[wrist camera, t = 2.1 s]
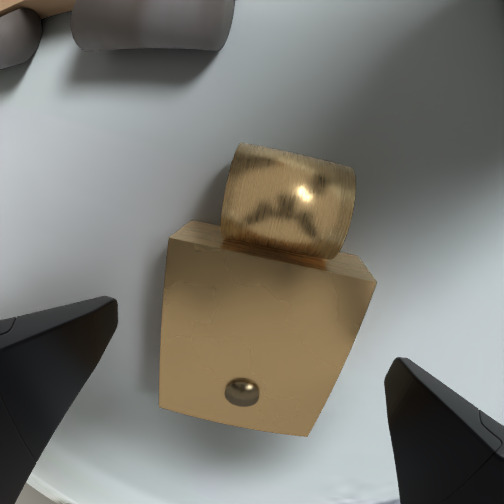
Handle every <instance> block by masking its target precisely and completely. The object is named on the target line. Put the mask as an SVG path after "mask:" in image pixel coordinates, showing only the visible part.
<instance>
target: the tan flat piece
mask: <svg viewBox="0 0 504 504" xmlns="http://www.w3.org/2000/svg"><path fill="white" fill-rule="evenodd" d="M234 6H235V0H0V69H3V68H6V67H10V66H14V65H18V64H21V63H24V62H25V61H27V60H28V59H29V58H30V57H31V56H32V55H33V54H34V53H35V51H36V49H37V47H38V45H39V42H40V39H41V33H42V27H41V21H40V19H42V18H46V17H49V16H53V15H56V14H60V13H64V12H68V11H72V15H71V31H72V35H73V38H74V40H75V42H76V44H77V45H78V46H79V47H80V48H81V49H82V50H84V51H87V52H93V51H104V50H117V49H138V48H179V49H200V50H213V51H219V50H220V49H221V48H222V47H223V46H224V44H225V42H226V40H227V37H228V35H229V31H230V28H231V24H232V19H233V14H234Z"/></svg>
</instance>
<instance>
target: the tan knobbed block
mask: <svg viewBox="0 0 504 504" xmlns="http://www.w3.org/2000/svg"><path fill="white" fill-rule="evenodd" d="M355 193H356V178H355V173H354V170H353V168H351V167H348V166H344V165H340V164H337V163H333V162H329V161H325V160H321V159H317V158H313V157H309V156H305V155H300V154H296V153H291V152H287V151H282V150H278V149H273V148H268V147H263V146H258V145H253V144H247V143H240V144H239V145H238V147H237V150H236V152H235V155H234V158H233V161H232V164H231V168H230V171H229V175H228V179H227V184H226V189H225V194H224V199H223V206H222V213H221V225H220V226H218V225H213V224H208V223H204V222H199V221H194V220H191V221H190V222H188V223H187V224H186V225H184V226H183V227H182V228H181V229H179V230H178V231H177V232H175V233H174V234H173V235H172V236H170V237H169V241H168V250H167V260H166V270H165V281H164V293H163V307H162V323H161V343H160V373H159V407H161V408H164V409H168V410H171V411H174V412H178V413H182V414H185V415H189V416H193V417H197V418H201V419H205V420H209V421H214V422H218V423H223V424H227V425H232V426H237V427H242V428H248V429H253V430H259V431H266V432H272V433H279V434H287V435H295V436H304V437H308V435H309V433H310V431H311V429H312V428H313V426H314V424H315V422H316V420H317V418H318V416H319V415H320V413H321V411H322V409H323V407H324V405H325V403H326V401H327V399H328V397H329V395H330V393H331V391H332V389H333V387H334V385H335V383H336V381H337V379H338V376H339V374H340V372H341V370H342V368H343V366H344V363H345V361H346V359H347V357H348V354H349V352H350V350H351V348H352V345H353V343H354V341H355V338H356V336H357V333H358V331H359V329H360V326H361V324H362V321H363V319H364V316H365V313H366V311H367V308H368V306H369V303H370V300H371V298H372V295H373V292H374V289H375V287H376V284H377V281H376V280H375V279H374V277H373V276H372V274H371V273H370V272H369V270H368V269H367V267H366V266H365V265H364V263H363V262H362V261H361V259H360V258H359V257H358V256H355V255H351V254H347V253H342V252H339V251H340V249H341V248H342V245H343V243H344V241H345V238H346V235H347V232H348V229H349V226H350V222H351V218H352V214H353V209H354V202H355Z"/></svg>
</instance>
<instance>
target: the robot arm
mask: <svg viewBox="0 0 504 504" xmlns="http://www.w3.org/2000/svg"><path fill="white" fill-rule="evenodd" d="M117 325H118V304H117V300H116V299H114V298H111V297H108V296H102V297H98V298H94V299H90V300H86V301H81V302H77V303H73V304H69V305H65V306H60V307H56V308H52V309H48V310H43V311H39V312H35V313H31V314H26V315H22V316H18V317H17V318H16V317H13V318H9V319H5V320H0V504H15V502H16V500H17V498H18V496H19V494H20V492H21V490H22V489H23V487H24V484H25V483H26V481H27V479H28V477H29V476H30V474H31V472H32V470H33V468H34V467H35V465H36V462H37V461H38V459H39V457H40V456H41V454H42V452H43V450H44V449H45V447H46V445H47V443H48V442H49V440H50V438H51V437H52V435H53V433H54V432H55V430H56V428H57V427H58V425H59V423H60V422H61V420H62V419H63V417H64V415H65V414H66V412H67V411H68V409H69V407H70V406H71V404H72V403H73V401H74V399H75V398H76V396H77V395H78V393H79V392H80V390H81V389H82V387H83V385H84V384H85V382H86V381H87V379H88V378H89V376H90V375H91V373H92V372H93V370H94V369H95V367H96V366H97V364H98V362H99V361H100V359H101V357H102V355H103V353H104V351H105V349H106V347H107V345H108V343H109V341H110V339H111V338H112V336H113V334H114V332H115V330H116V328H117ZM384 386H385V395H386V406H387V417H388V424H389V430H390V435H391V441H392V447H393V453H394V459H395V465H396V472H397V479H398V487H399V495H400V503H401V504H504V426H503V425H501V424H500V423H498V422H497V421H495V420H494V419H492V418H491V417H489V416H488V415H487V414H485V413H484V412H482V411H481V410H478V408H477V407H475V406H474V405H473V404H471V403H470V402H468V401H467V400H466V399H464V398H463V397H461V396H460V395H459V394H457V393H456V392H454V391H453V390H452V389H450V388H449V387H447V386H446V385H445V384H443V383H442V382H440V381H439V380H438V379H436V378H435V377H433V376H432V375H431V374H429V373H428V372H426V371H425V370H424V369H422V368H421V367H419V366H418V365H417V364H415V363H414V362H412V361H411V360H410V359H408V358H402V357H397V358H396V359H395V360H394V361H393V363H392V365H391V367H390V369H389V371H388V373H387V375H386V377H385V380H384Z"/></svg>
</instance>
